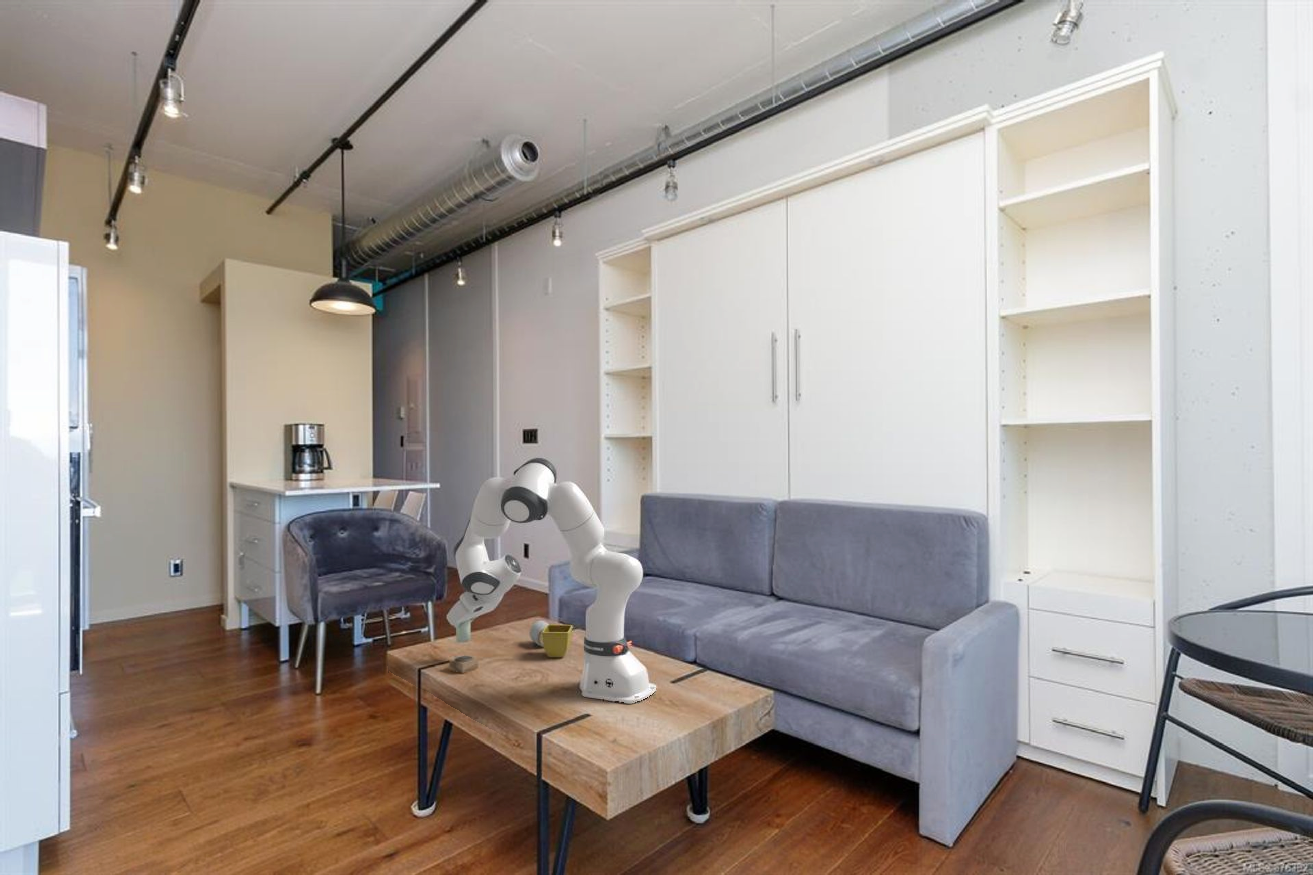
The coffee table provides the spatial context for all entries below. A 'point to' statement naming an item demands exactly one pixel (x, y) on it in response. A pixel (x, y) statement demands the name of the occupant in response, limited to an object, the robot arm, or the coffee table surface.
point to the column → (463, 632)
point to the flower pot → (556, 639)
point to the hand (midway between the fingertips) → (461, 623)
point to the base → (463, 664)
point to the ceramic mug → (538, 632)
